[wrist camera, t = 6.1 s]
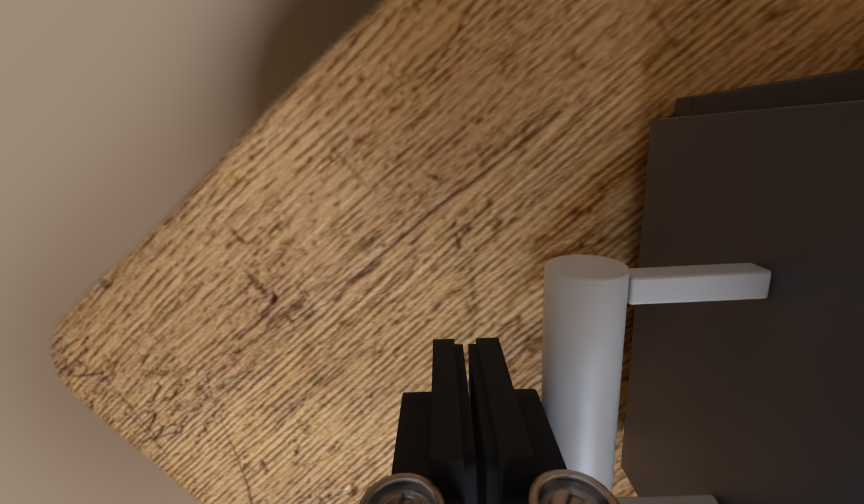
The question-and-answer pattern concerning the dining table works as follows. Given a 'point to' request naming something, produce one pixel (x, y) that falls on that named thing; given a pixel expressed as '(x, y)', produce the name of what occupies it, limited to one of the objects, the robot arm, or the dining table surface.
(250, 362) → the dining table surface
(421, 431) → the robot arm
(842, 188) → the cabinet drawer
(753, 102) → the small drawer cabinet
